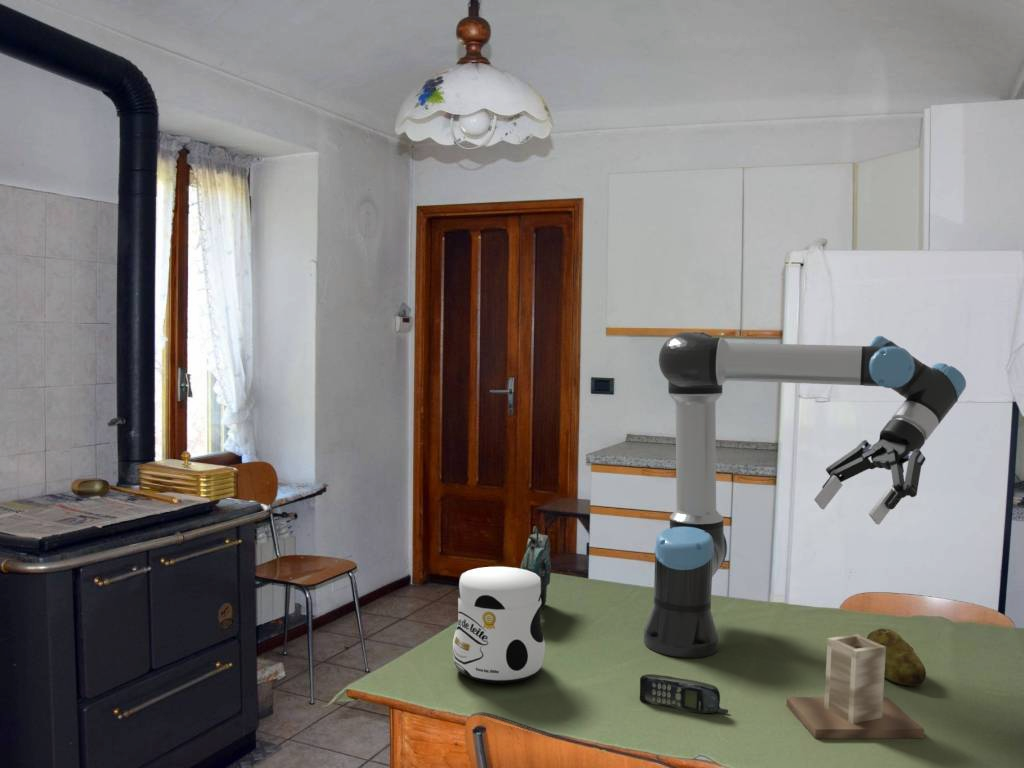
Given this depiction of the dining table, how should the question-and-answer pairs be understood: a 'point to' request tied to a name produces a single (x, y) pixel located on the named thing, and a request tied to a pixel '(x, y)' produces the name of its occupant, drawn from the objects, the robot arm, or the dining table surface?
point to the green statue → (538, 560)
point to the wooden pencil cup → (854, 678)
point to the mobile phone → (680, 694)
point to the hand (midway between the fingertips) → (845, 511)
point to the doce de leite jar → (499, 625)
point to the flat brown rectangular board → (834, 726)
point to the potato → (899, 658)
